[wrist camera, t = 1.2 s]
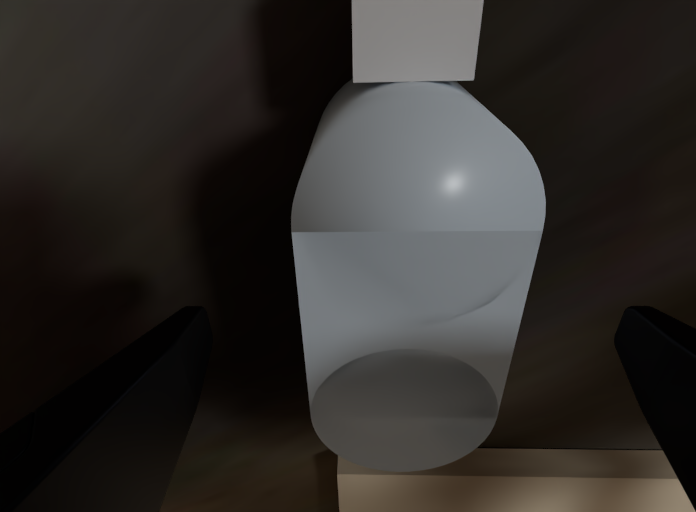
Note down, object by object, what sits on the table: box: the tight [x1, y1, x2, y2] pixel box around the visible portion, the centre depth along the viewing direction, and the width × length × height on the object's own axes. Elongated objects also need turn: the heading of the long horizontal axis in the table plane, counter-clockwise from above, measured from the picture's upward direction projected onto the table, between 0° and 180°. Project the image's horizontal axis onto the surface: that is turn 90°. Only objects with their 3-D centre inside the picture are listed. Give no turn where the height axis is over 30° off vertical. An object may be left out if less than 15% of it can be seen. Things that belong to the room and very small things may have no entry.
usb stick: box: [291, 0, 546, 472], centre depth 10 cm, size 12×4×4 cm, turn 1°
